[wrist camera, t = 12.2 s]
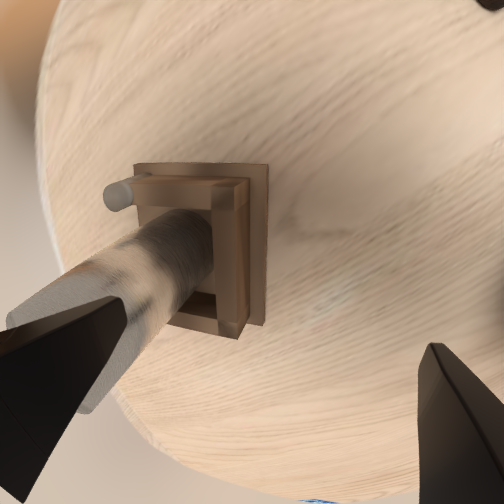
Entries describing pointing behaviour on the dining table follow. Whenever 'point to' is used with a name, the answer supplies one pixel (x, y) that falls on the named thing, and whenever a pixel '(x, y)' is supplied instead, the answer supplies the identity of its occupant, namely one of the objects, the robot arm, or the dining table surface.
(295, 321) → the dining table surface
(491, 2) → the wrench
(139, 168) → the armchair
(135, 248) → the grey cylinder
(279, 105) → the dining table surface
